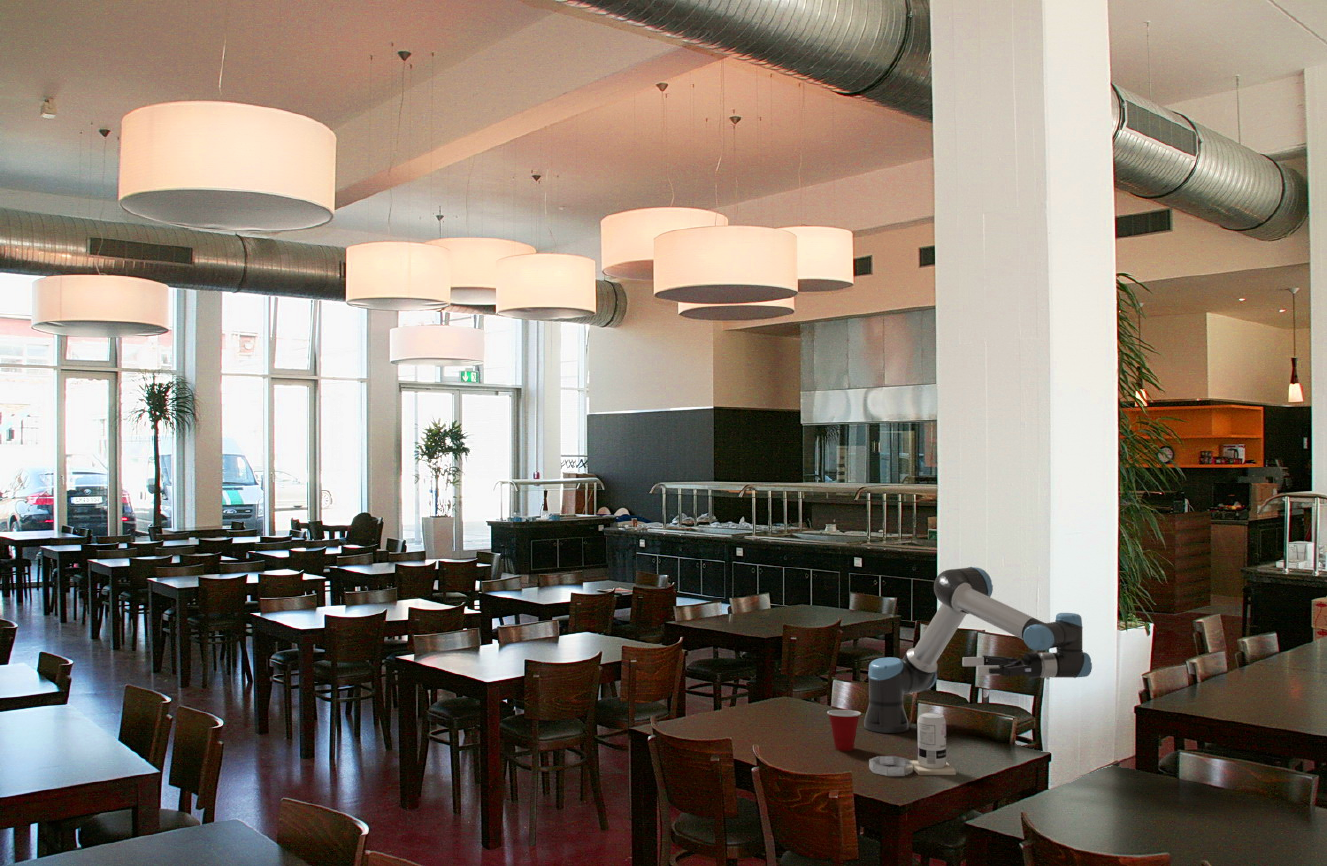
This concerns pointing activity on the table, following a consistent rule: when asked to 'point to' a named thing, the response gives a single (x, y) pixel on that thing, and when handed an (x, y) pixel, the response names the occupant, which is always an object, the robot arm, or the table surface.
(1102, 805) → the table surface
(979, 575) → the robot arm
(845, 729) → the plastic cup
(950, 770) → the board
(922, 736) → the supplement can
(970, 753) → the table surface
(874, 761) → the collar
